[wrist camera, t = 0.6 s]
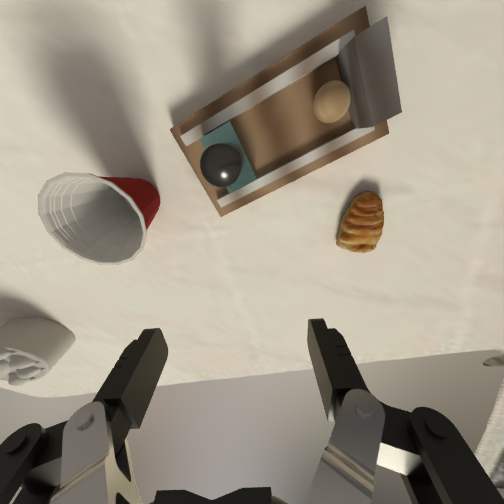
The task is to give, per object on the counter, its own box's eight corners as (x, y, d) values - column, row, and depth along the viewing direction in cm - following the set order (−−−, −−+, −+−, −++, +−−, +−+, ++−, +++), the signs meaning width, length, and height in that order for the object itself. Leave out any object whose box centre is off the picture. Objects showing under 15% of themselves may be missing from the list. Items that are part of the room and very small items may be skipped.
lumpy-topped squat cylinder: (3, 317, 45) (-49, 353, 37) (65, 317, 45) (26, 353, 37) (26, 350, 50) (-15, 389, 42) (82, 351, 50) (51, 389, 42)
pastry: (343, 190, 33) (353, 195, 30) (387, 190, 33) (402, 195, 30) (332, 245, 37) (341, 255, 34) (371, 245, 37) (383, 255, 34)
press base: (357, 15, 24) (393, -29, 18) (380, 133, 29) (415, 131, 23) (174, 130, 29) (153, 127, 23) (222, 213, 35) (215, 228, 28)
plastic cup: (142, 242, 37) (97, 283, 26) (91, 187, 33) (13, 209, 22) (192, 210, 34) (164, 240, 24) (143, 145, 30) (83, 148, 20)
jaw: (232, 123, 27) (219, 112, 17) (256, 175, 30) (258, 192, 20) (204, 139, 28) (178, 137, 18) (231, 188, 31) (220, 210, 21)
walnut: (337, 77, 25) (351, 67, 22) (346, 113, 27) (361, 109, 23) (305, 96, 26) (313, 89, 22) (315, 130, 28) (325, 128, 24)
